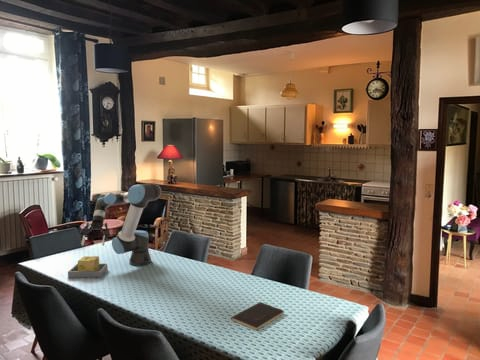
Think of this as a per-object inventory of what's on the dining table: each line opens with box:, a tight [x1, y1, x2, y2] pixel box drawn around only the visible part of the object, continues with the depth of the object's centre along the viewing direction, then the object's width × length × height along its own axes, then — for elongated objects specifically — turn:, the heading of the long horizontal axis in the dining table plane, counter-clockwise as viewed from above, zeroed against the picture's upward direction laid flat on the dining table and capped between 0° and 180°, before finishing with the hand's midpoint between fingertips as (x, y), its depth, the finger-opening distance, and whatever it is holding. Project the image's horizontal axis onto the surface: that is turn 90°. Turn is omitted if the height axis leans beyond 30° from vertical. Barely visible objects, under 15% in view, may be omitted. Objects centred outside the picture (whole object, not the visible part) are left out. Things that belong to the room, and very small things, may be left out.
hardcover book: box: [230, 302, 285, 331], centre depth 188 cm, size 16×23×2 cm
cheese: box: [77, 255, 100, 271], centre depth 244 cm, size 10×11×10 cm
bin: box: [67, 263, 109, 280], centre depth 245 cm, size 20×15×4 cm
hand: (92, 244), depth 252 cm, fingers open, 13 cm apart
